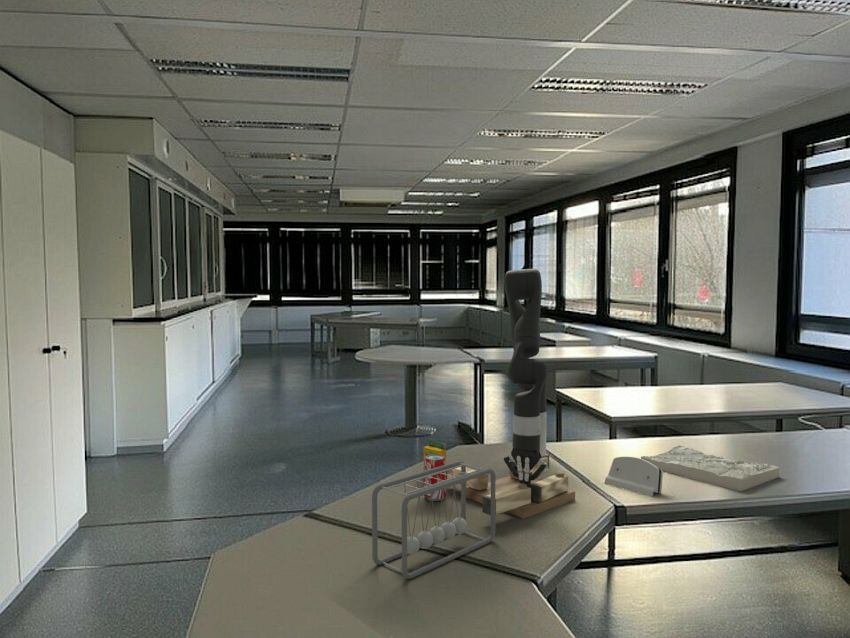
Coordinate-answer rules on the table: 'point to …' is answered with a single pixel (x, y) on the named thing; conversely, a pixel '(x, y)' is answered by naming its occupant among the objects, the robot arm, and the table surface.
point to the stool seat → (510, 494)
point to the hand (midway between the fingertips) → (525, 493)
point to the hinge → (635, 475)
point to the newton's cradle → (436, 533)
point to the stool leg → (548, 487)
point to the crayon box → (435, 449)
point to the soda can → (431, 463)
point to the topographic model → (714, 468)
